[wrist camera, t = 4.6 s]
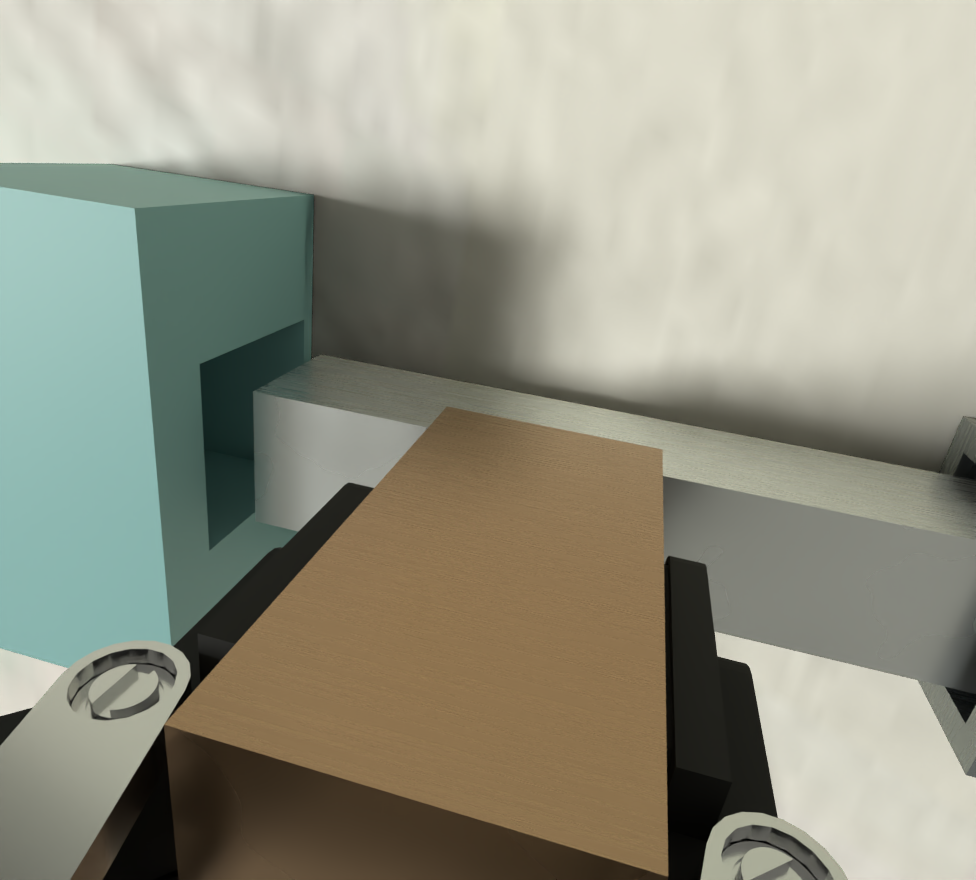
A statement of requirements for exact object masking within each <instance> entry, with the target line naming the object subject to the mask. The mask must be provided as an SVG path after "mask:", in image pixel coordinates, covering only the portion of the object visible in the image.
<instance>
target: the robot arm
mask: <svg viewBox="0 0 976 880" xmlns="http://www.w3.org/2000/svg"><path fill="white" fill-rule="evenodd" d="M373 489H374V488H372V487H368V486H363V485H359V484H355V483H349V482H348V483H347V484H345V485H344V486H343V487H342V488H341V489H340V490H339V491H338V492H337V493H336V494H335V495H334V496H333V497H332V498H331V499H330V500H329V501H328V502H327V503H326V504H325V505H324V506H323V507H322V508H321V509H320V510H319V511H318V512H317V513H316V514H315V515H314V516H313V517H312V518H311V519H310V520H309V521H308V522H307V523H306V524H305V525H304V526H303V527H302V528H301V529H300V531H299V532H298V533H297V534H296V535H295V536H294V537H293V538H292V539H291V540H290V541H289V542H288V543H287V544H286V545H285V546H284V547H283V548H282V547H278V548H274V549H273V550H271V551H270V552H269V553H267V554H266V555H265V556H264V557H263V558H262V559H261V560H260V561H259V562H258V563H257V564H256V565H255V566H254V567H253V568H252V569H251V570H250V571H249V572H248V573H247V574H246V575H245V576H244V577H243V578H242V579H241V580H240V581H239V582H238V583H237V584H236V585H235V586H234V587H233V588H232V589H231V590H230V591H229V592H228V593H227V594H226V595H225V596H224V597H223V598H222V599H221V600H220V601H219V602H218V603H217V604H216V605H215V606H214V607H213V608H212V609H211V610H210V611H209V612H208V613H207V614H206V615H204V616H203V617H202V618H201V619H200V620H199V621H198V622H197V623H196V624H195V625H194V626H193V627H192V628H191V629H190V630H189V631H188V632H187V633H186V634H185V635H184V636H183V637H182V638H181V639H180V640H179V641H178V642H177V643H176V644H175V645H174V646H171V645H169V644H165V643H161V642H157V641H139V640H134V641H128V642H123V643H117V644H113V645H110V646H107V647H104V648H102V649H99V650H96V651H93V652H92V653H90V654H88V655H87V656H85V657H83V658H81V659H80V660H78V661H76V662H75V663H74V664H73V665H72V666H70V667H69V668H68V669H67V670H66V671H65V672H64V673H63V674H62V675H61V676H60V677H59V678H58V679H57V680H56V682H55V683H54V684H53V685H52V686H51V687H50V689H49V690H48V691H47V692H46V693H45V694H44V696H43V697H42V698H41V699H40V700H39V701H38V703H37V704H36V705H35V706H34V707H33V708H30V709H26V710H22V711H19V712H15V713H11V714H8V715H4V716H0V880H179V878H178V868H177V857H176V847H175V836H174V826H173V815H172V805H171V794H170V784H169V773H168V763H167V752H166V742H165V731H164V724H165V723H166V722H167V721H168V719H169V718H170V717H171V716H172V715H173V714H174V713H175V712H176V710H177V709H178V708H179V707H180V706H181V705H182V704H183V703H184V701H185V700H186V699H187V698H188V697H189V696H190V695H191V694H192V692H193V691H194V690H195V689H196V688H197V687H198V686H199V685H200V683H201V682H202V681H203V680H204V679H205V678H206V677H207V676H208V674H209V673H210V672H211V671H212V670H213V669H214V668H215V667H216V665H217V664H218V663H219V662H220V661H221V660H222V659H223V658H224V656H225V655H226V654H227V653H228V652H229V651H230V650H231V649H232V647H233V646H234V645H235V644H236V643H237V642H238V641H239V640H240V638H241V637H242V636H243V635H244V634H245V633H246V632H247V631H248V629H249V628H250V627H251V626H252V625H253V624H254V623H255V622H256V620H257V619H258V618H259V617H260V616H261V615H262V614H263V613H264V611H265V610H266V609H267V608H268V607H269V606H270V605H271V604H272V602H273V601H274V600H275V599H276V598H277V597H278V596H279V595H280V593H281V592H282V591H283V590H284V589H285V588H286V587H287V586H288V585H289V583H290V582H291V581H292V580H293V579H294V578H295V577H296V576H297V574H298V573H299V572H300V571H301V570H302V569H303V568H304V567H305V565H306V564H307V563H308V562H309V561H310V560H311V559H312V558H313V556H314V555H315V554H316V553H317V552H318V551H319V550H320V549H321V547H322V546H323V545H324V544H325V543H326V542H327V541H328V540H329V538H330V537H331V536H332V535H333V534H334V533H335V532H336V531H337V529H338V528H339V527H340V526H341V525H342V524H343V523H344V522H345V520H346V519H347V518H348V517H349V516H350V515H351V514H352V513H353V511H354V510H355V509H356V508H357V507H358V506H359V505H360V504H361V502H362V501H363V500H364V499H365V498H366V497H367V496H368V495H369V493H370V492H371V491H372V490H373ZM664 597H665V670H666V743H667V817H668V879H667V880H848V879H847V877H846V875H845V873H844V871H843V870H842V868H841V867H840V866H839V865H838V864H837V862H836V861H835V860H834V859H833V858H832V856H831V855H830V854H829V853H828V851H827V850H826V849H825V848H824V847H822V846H821V845H820V844H819V843H818V842H816V841H815V840H814V839H813V838H812V837H810V836H809V835H808V834H807V833H806V832H804V831H802V830H801V829H799V828H797V827H795V826H794V825H792V824H790V823H788V822H786V821H785V820H783V819H779V818H778V817H777V811H776V806H775V800H774V795H773V789H772V784H771V778H770V773H769V767H768V762H767V756H766V751H765V745H764V740H763V734H762V729H761V723H760V718H759V712H758V707H757V701H756V696H755V690H754V685H753V679H752V674H751V671H750V668H749V666H748V665H747V664H745V663H741V662H737V661H733V660H729V659H725V658H721V657H717V650H716V642H715V633H714V625H713V616H712V608H711V599H710V591H709V582H708V574H707V567H706V564H704V563H699V562H695V561H691V560H686V559H682V558H678V557H673V556H668V557H667V559H666V562H665V564H664Z"/></svg>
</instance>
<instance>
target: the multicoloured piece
mask: <svg viewBox="0 0 976 880" xmlns="http://www.w3.org/2000/svg"><path fill="white" fill-rule="evenodd" d="M253 419H254V470H255V521H257V522H261V523H265V524H269V525H273V526H278V527H282V528H286V529H290V530H294V531H298V532H299V531H300V529H301V528H302V527H303V526H304V525H305V524H306V523H307V522H308V521H309V520H310V519H311V518H312V517H313V516H314V515H315V514H316V513H317V512H318V511H319V510H320V509H321V508H322V507H323V506H324V505H325V504H326V503H327V502H328V501H329V500H330V499H331V498H332V497H333V496H334V495H335V494H336V493H337V492H338V491H339V490H340V489H341V488H342V487H343V486H344V485H345V484H347V483H348V482H349V483H355V484H359V485H363V486H368V487H372V488H374V489H373V490H372V491H371V492H370V493H369V495H368V496H367V497H366V498H365V499H364V500H363V501H362V502H361V504H360V505H359V506H358V507H357V508H356V509H355V510H354V511H353V513H352V514H351V515H350V516H349V517H348V518H347V519H346V520H345V522H344V523H343V524H342V525H341V526H340V527H339V528H338V529H337V531H336V532H335V533H334V534H333V535H332V536H331V537H330V538H329V540H328V541H327V542H326V543H325V544H324V545H323V546H322V547H321V549H320V550H319V551H318V552H317V553H316V554H315V555H314V556H313V558H312V559H311V560H310V561H309V562H308V563H307V564H306V565H305V567H304V568H303V569H302V570H301V571H300V572H299V573H298V574H297V576H296V577H295V578H294V579H293V580H292V581H291V582H290V583H289V585H288V586H287V587H286V588H285V589H284V590H283V591H282V592H281V593H280V595H279V596H278V597H277V598H276V599H275V600H274V601H273V602H272V604H271V605H270V606H269V607H268V608H267V609H266V610H265V611H264V613H263V614H262V615H261V616H260V617H259V618H258V619H257V620H256V622H255V623H254V624H253V625H252V626H251V627H250V628H249V629H248V631H247V632H246V633H245V634H244V635H243V636H242V637H241V638H240V640H239V641H238V642H237V643H236V644H235V645H234V646H233V647H232V649H231V650H230V651H229V652H228V653H227V654H226V655H225V656H224V658H223V659H222V660H221V661H220V662H219V663H218V664H217V665H216V667H215V668H214V669H213V670H212V671H211V672H210V673H209V674H208V676H207V677H206V678H205V679H204V680H203V681H202V682H201V683H200V685H199V686H198V687H197V688H196V689H195V690H194V691H193V692H192V694H191V695H190V696H189V697H188V698H187V699H186V700H185V701H184V703H183V704H182V705H181V706H180V707H179V708H178V709H177V710H176V712H175V713H174V714H173V715H172V716H171V717H170V718H169V719H168V721H167V722H166V723H165V724H164V731H165V742H166V752H167V763H168V773H169V784H170V794H171V805H172V815H173V826H174V836H175V847H176V857H177V868H178V878H179V880H667V879H668V817H667V743H666V670H665V597H664V564H665V562H666V559H667V557H668V556H673V557H678V558H682V559H686V560H691V561H695V562H699V563H704V564H706V567H707V574H708V582H709V591H710V599H711V608H712V616H713V625H714V631H715V632H719V633H724V634H728V635H732V636H736V637H740V638H744V639H749V640H753V641H757V642H761V643H765V644H769V645H774V646H778V647H782V648H786V649H790V650H794V651H799V652H803V653H807V654H811V655H815V656H819V657H824V658H828V659H832V660H836V661H840V662H845V663H849V664H853V665H857V666H861V667H865V668H870V669H874V670H878V671H882V672H886V673H890V674H895V675H899V676H903V677H907V678H911V679H915V680H920V681H924V682H928V683H932V684H936V685H940V686H945V687H949V688H953V689H957V690H961V691H965V692H970V693H974V694H976V480H973V479H968V478H963V477H958V476H952V475H947V474H942V473H937V472H932V471H926V470H921V469H916V468H911V467H906V466H900V465H895V464H890V463H885V462H879V461H874V460H869V459H864V458H859V457H853V456H848V455H843V454H838V453H833V452H827V451H822V450H817V449H812V448H806V447H801V446H796V445H791V444H786V443H780V442H775V441H770V440H765V439H760V438H754V437H749V436H744V435H739V434H734V433H728V432H723V431H718V430H713V429H707V428H702V427H697V426H692V425H687V424H681V423H676V422H671V421H666V420H661V419H655V418H650V417H645V416H640V415H635V414H629V413H624V412H619V411H614V410H608V409H603V408H598V407H593V406H588V405H582V404H577V403H572V402H567V401H562V400H556V399H551V398H546V397H541V396H535V395H530V394H525V393H520V392H515V391H509V390H504V389H499V388H494V387H489V386H483V385H478V384H473V383H468V382H463V381H457V380H452V379H447V378H442V377H436V376H431V375H426V374H421V373H416V372H410V371H405V370H400V369H395V368H390V367H384V366H379V365H374V364H369V363H364V362H358V361H353V360H348V359H343V358H337V357H332V356H327V355H322V354H320V355H319V356H317V357H315V358H313V359H311V360H310V361H308V362H306V363H304V364H302V365H300V366H299V367H297V368H295V369H293V370H291V371H290V372H288V373H286V374H284V375H282V376H281V377H279V378H277V379H275V380H273V381H271V382H270V383H268V384H266V385H264V386H262V387H261V388H259V389H257V390H255V391H253Z"/></svg>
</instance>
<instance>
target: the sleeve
mask: <svg viewBox="0 0 976 880" xmlns="http://www.w3.org/2000/svg"><path fill="white" fill-rule="evenodd" d="M939 473H942V474H947V475H952V476H958V477H963V478H968V479H973V480H976V419H975V418H969V417H963V418H962V421H961V423H960V425H959V428H958V430H957V432H956V435H955V437H954V439H953V442H952V444H951V446H950V449H949V451H948V453H947V456H946V458H945V460H944V462H943V465H942V467H941V469H940V472H939ZM918 681H919V683H920V685H921V687H922V689H923V691H924V693H925V695H926V697H927V699H928V701H929V703H930V705H931V707H932V709H933V711H934V713H935V715H936V717H937V719H938V721H939V723H940V725H941V727H942V729H943V731H944V733H945V735H946V737H947V739H948V741H949V743H950V745H951V747H952V748H953V750H954V752H955V754H956V756H957V758H958V760H959V762H960V764H961V766H962V768H963V770H964V772H965V774H966V775H968V776H972V777H976V694H974V693H970V692H965V691H961V690H957V689H953V688H949V687H945V686H940V685H936V684H932V683H928V682H924V681H920V680H918Z"/></svg>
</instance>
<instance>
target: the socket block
mask: <svg viewBox="0 0 976 880" xmlns="http://www.w3.org/2000/svg"><path fill="white" fill-rule="evenodd" d="M313 217H314V195H313V194H306V193H299V192H293V191H286V190H279V189H273V188H266V187H259V186H253V185H246V184H239V183H233V182H226V181H219V180H213V179H206V178H199V177H193V176H186V175H179V174H173V173H166V172H159V171H153V170H146V169H139V168H133V167H126V166H119V165H113V164H57V163H0V648H2V649H5V650H9V651H12V652H15V653H19V654H22V655H26V656H29V657H32V658H36V659H39V660H43V661H46V662H49V663H53V664H56V665H60V666H63V667H66V668H69V667H70V666H72V665H73V664H74V663H75V662H76V661H78V660H80V659H81V658H83V657H85V656H87V655H88V654H90V653H92V652H93V651H96V650H99V649H102V648H104V647H107V646H110V645H113V644H117V643H123V642H128V641H134V640H139V641H157V642H161V643H165V644H169V645H171V646H174V645H175V644H176V643H177V642H178V641H179V640H180V639H181V638H182V637H183V636H184V635H185V634H186V633H187V632H188V631H189V630H190V629H191V628H192V627H193V626H194V625H195V624H196V623H197V622H198V621H199V620H200V619H201V618H202V617H203V616H204V615H206V614H207V613H208V612H209V611H210V610H211V609H212V608H213V607H214V606H215V605H216V604H217V603H218V602H219V601H220V600H221V599H222V598H223V597H224V596H225V595H226V594H227V593H228V592H229V591H230V590H231V589H232V588H233V587H234V586H235V585H236V584H237V583H238V582H239V581H240V580H241V579H242V578H243V577H244V576H245V575H246V574H247V573H248V572H249V571H250V570H251V569H252V568H253V567H254V566H255V565H256V564H257V563H258V562H259V561H260V560H261V559H262V558H263V557H264V556H265V555H266V554H267V553H269V552H270V551H271V550H273V549H274V548H278V547H282V548H283V547H284V546H285V545H286V544H287V543H288V542H289V541H290V540H291V539H292V538H293V537H294V536H295V535H296V534H297V533H298V531H294V530H290V529H286V528H282V527H278V526H273V525H269V524H265V523H261V522H257V521H255V470H254V419H253V391H255V390H257V389H259V388H261V387H262V386H264V385H266V384H268V383H270V382H271V381H273V380H275V379H277V378H279V377H281V376H282V375H284V374H286V373H288V372H290V371H291V370H293V369H295V368H297V367H299V366H300V365H302V364H304V363H306V362H308V361H310V360H311V338H312V277H313Z"/></svg>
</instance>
